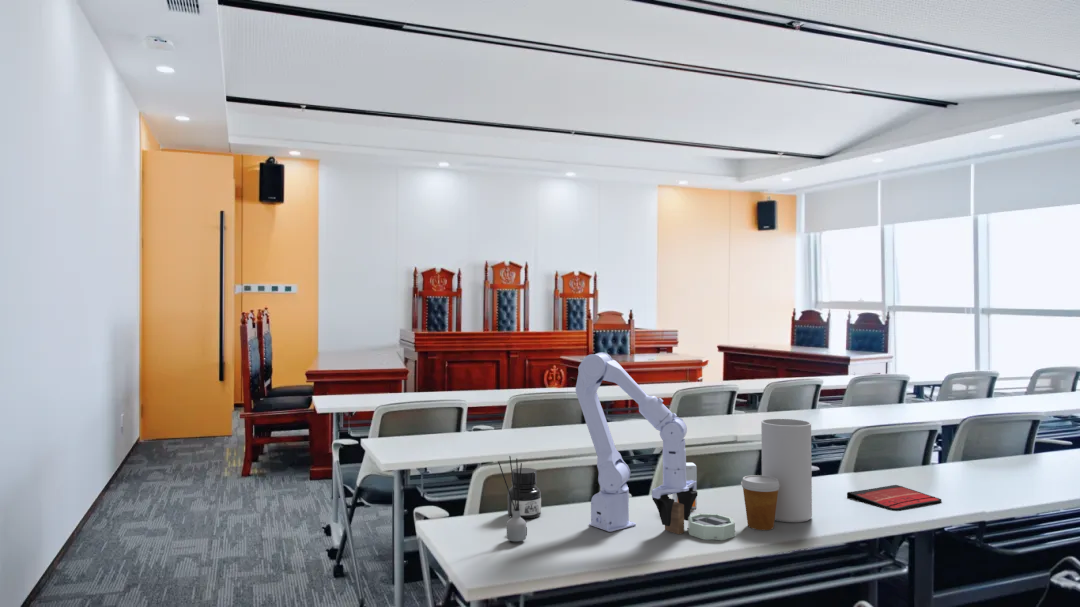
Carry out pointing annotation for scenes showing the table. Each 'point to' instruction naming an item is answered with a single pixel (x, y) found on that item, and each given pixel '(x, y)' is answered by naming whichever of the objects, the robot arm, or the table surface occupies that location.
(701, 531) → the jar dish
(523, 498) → the ink bottle
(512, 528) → the reed diffuser
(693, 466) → the skincare box
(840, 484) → the table surface
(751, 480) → the disposable coffee cup
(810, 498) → the cylinder vase
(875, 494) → the binder
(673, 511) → the wooden block
